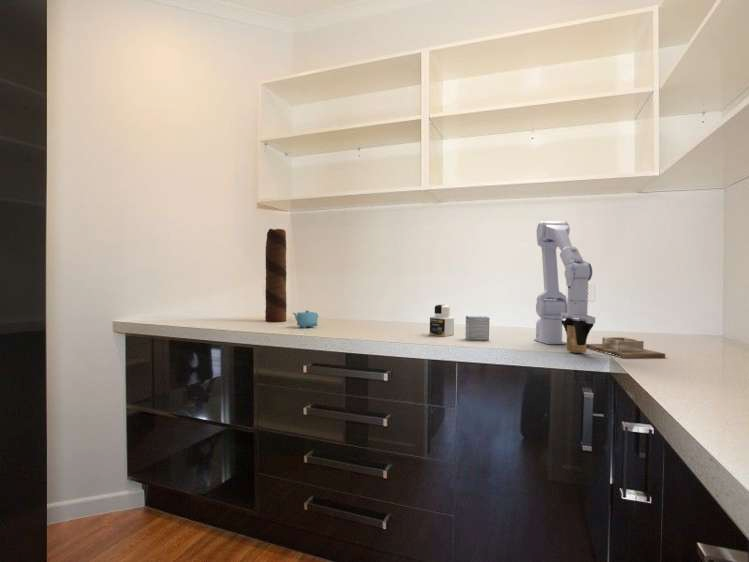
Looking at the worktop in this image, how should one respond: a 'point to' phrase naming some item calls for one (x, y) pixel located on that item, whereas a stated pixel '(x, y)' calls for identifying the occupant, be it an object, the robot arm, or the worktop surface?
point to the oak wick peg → (574, 341)
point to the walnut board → (625, 348)
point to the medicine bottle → (442, 322)
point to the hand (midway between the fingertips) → (576, 343)
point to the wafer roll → (276, 276)
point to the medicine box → (477, 328)
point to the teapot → (306, 319)
